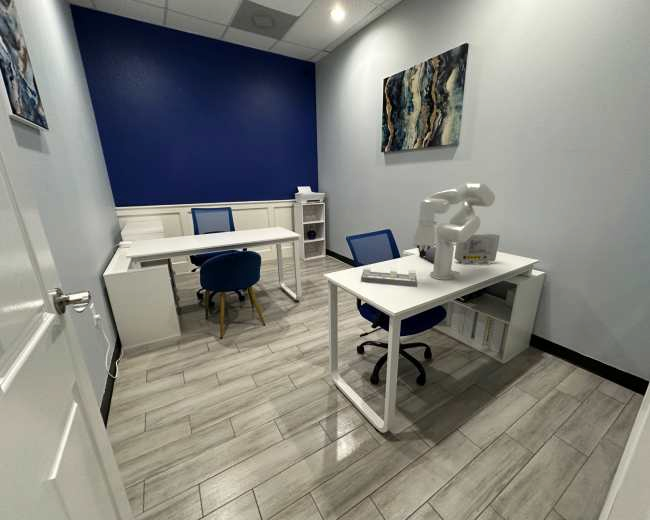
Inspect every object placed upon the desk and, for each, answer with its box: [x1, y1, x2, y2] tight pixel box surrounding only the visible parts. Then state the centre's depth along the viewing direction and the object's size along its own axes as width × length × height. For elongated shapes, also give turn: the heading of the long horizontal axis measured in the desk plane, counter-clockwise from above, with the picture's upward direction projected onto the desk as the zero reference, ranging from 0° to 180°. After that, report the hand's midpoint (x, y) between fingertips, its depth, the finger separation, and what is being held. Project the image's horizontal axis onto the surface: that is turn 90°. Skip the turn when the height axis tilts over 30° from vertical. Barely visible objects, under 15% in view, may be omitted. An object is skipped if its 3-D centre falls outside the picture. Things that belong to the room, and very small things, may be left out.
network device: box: [453, 233, 501, 266], centre depth 185 cm, size 26×9×20 cm, turn 88°
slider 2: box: [407, 269, 417, 279], centre depth 154 cm, size 4×5×4 cm
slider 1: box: [362, 265, 371, 275], centre depth 160 cm, size 4×5×4 cm
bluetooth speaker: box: [418, 245, 436, 264], centre depth 192 cm, size 23×9×10 cm, turn 13°
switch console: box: [360, 271, 418, 288], centre depth 158 cm, size 30×10×3 cm, turn 76°
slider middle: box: [389, 268, 398, 278], centre depth 156 cm, size 4×5×4 cm
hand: (422, 257), depth 150 cm, fingers closed
